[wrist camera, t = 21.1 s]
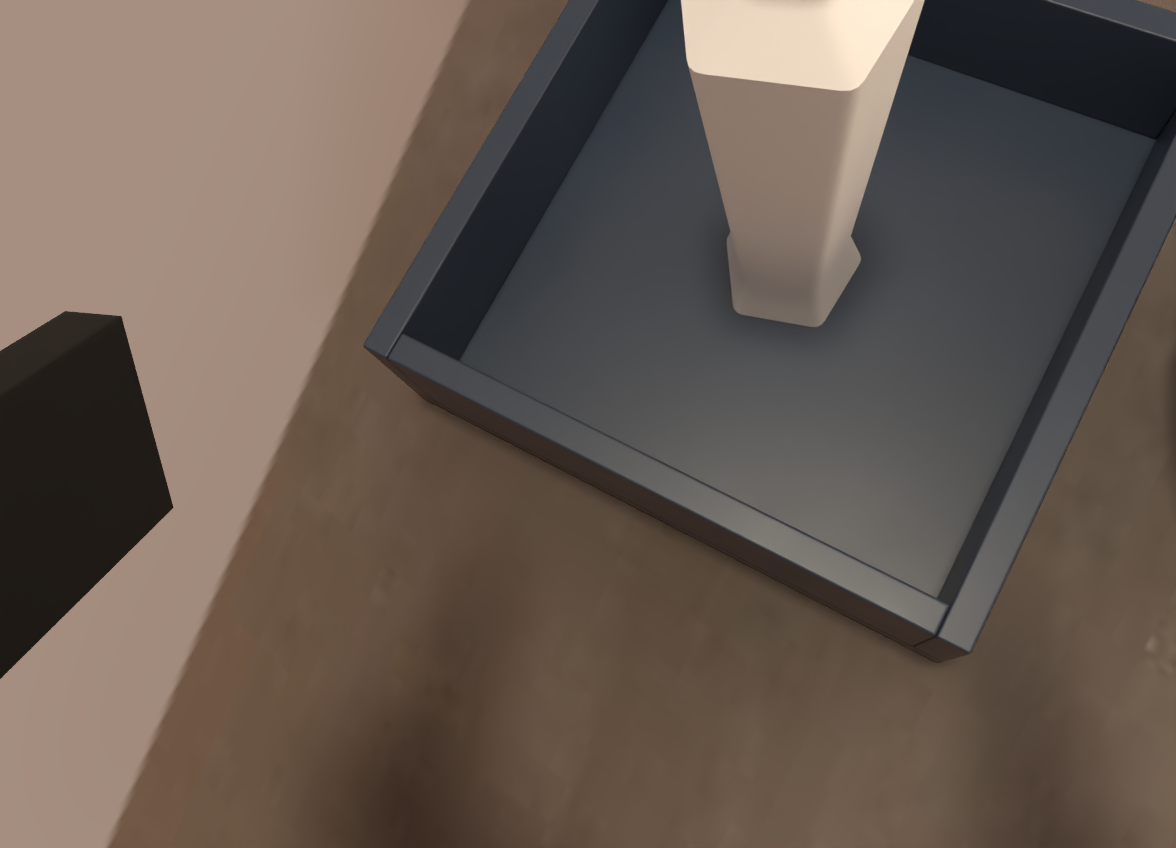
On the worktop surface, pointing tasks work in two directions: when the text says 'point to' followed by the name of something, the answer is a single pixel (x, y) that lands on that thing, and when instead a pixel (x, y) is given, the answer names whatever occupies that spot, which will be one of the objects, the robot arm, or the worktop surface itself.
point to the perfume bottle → (794, 136)
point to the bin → (853, 327)
